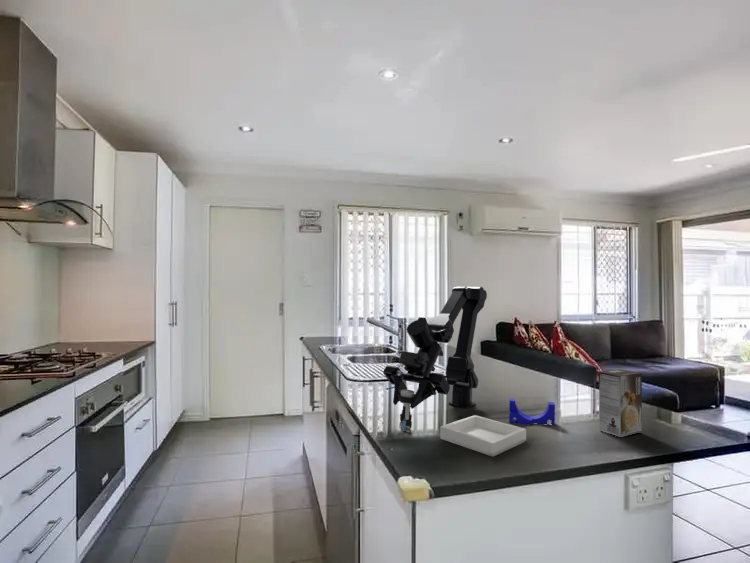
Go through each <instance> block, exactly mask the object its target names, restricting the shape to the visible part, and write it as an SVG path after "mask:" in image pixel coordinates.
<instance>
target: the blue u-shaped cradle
mask: <svg viewBox="0 0 750 563" xmlns="http://www.w3.org/2000/svg"><path fill="white" fill-rule="evenodd" d="M508 407H509V408H508V409H509V414H508V415H509V416H508V417H509V418H508V420H509V421H508V422H509V423H508V424H510V423H511V424H517V425H518V424H519V425H526V424H529V426H533V425H532V423H537V424H536V425H540V424H547V422H549V421H550V422H551V424H552V425H555V426H556V422H555V421H556V405H555V402H553V401H548V402H547V406H546V408H545V410H543V412H541V413H539V414H537V415H528V414H526V413H524V412H522V411H521V410H520V409H519V407H518V406H517V403H516V399H515V398H513V397H512V398H511V397H509V406H508Z"/></svg>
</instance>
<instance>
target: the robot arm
mask: <svg viewBox="0 0 750 563" xmlns="http://www.w3.org/2000/svg"><path fill="white" fill-rule="evenodd" d="M487 298H488V293H487V290H485V289H484V287H482V286H454V287H453V288H452V291H451V294H450V296H449V297H448V299H447V301H446V303H445V304H444V306H443V308H442V310H441V311H440V313H439V314H438V315H436V316H435V317H433V318H431V319H430V321H429V322H428V320H427V319H426V317H418V319H417V320H414V321H411V323H409V324H408V325H407V326H406V332H407V335H408V337H409V338H410V339H411V341H412V343H413V344H414V346H415V347H416V348H418V351H417V352H412V351H406V350H405V351H404V350H403V351H401V353H400V356H399V360H398V363H399V364H402V365H403V366H404V367H403V368H404V370H405V371H406V372H407V373H406V372H403V371H402V370H401V368H400V367H399V366H396V365H395V366H394V365H386V366H385V367H384V370H383V371H382V374H384V377H385V378H386V379H387V381H388V382H389V383H390V384H391V385H394V391H393V399H392V400H393V401H392V403H393V405H394V406H396V405H397V404H398V403H399V402H400V401H399V400H398V396H397V394H398V393H401V390H404V389H407V390H409V389H408V387H407V385H406V381H407V382H411V383H414V384H415V383H416V384H418V388H417V390H416V392H415V393H414V394H415V396H414V398H413V400H412V402H411V404H410V410H413V409H414V408H416V407H417V406H419V405H420V404H421V403H422V402H424V401H426V400H427V399H428V398H430V397H432V396H435V395H436V394H440V395H444V396H447V395H448V394H449V391H450V390H451V389H450V388H451V386H452V391H451V393H452V394H451V401H449V402H448V404H449V405H451V406H455V407H459V408H463V409H466V408H470V407H473V406H476V404H477V403H476V402H473V389H477V387H478V385H479V378H478V376H477V375H476V372H475V370H474V368H475V364H474V362H473V359H472V357H471V354H472V349H473V344H474V338H475V337H474V336H475V331H476V327H477V326H476V325H477V318H478V314H479V313H480V312H481V311H482V309H483V308H484V306H485V302H486V300H487ZM461 311H462V312H461ZM460 313H461V318H460V324H459V329H458V330H459V331H458V336H457V342H456V346H455V347H456V348H455V352H454V354H453V355H452V356H448V358H447V364H446V367H445V375H444V374H443V373H437V372H435V370H436V368H435V364H436V362H437V360H438V357H443V356H444V352H443V348H442V346H441V345H440V344H449V343H450V341H451V340H452V338H453V335H454V332H455V329H454V323H455V322H456V319H457V318H458V316H459V314H460ZM445 376H446V377H445Z"/></svg>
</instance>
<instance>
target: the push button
mask: <svg viewBox="0 0 750 563" xmlns="http://www.w3.org/2000/svg"><path fill="white" fill-rule="evenodd" d="M415 394H416V393H415V391H414V390H412V389H404V390H401V393H398V394H397V396H398V400H399V402H400V403H401V404H403V405H402V410H401V413H400V414H399V419H400V421H399V426H398V427H399V429H401V430H402V432H407V433H410V432H411V429H412V426H413V422H412V418H413V416H412V414H411V407H410V405H411V402H412V400H413V398H414V396H415Z"/></svg>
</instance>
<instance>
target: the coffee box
mask: <svg viewBox="0 0 750 563" xmlns="http://www.w3.org/2000/svg"><path fill="white" fill-rule="evenodd" d="M642 375H643V373H642V372H637V371H632V370H625V369H618V368H617V369H610V370H603V371H599V372H598V430H599V429H600V430H603V431H607V432H610V433H614V434H617V435H625V434H629V433H633V432H637V431H642V432H643V429H642V428H643V422H642V421H643V418H642V417H643V415H642V414H643V411H642V410H643V408H642V406H643V399H642V398H643V397H642V396H643V395H642V394H643V391H642V390H643V388H642V387H643V378H642Z"/></svg>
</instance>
